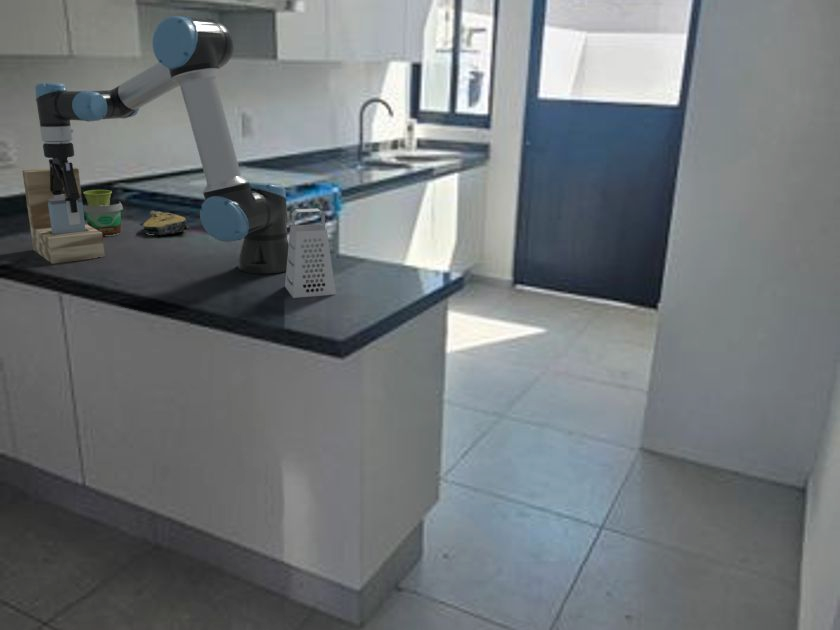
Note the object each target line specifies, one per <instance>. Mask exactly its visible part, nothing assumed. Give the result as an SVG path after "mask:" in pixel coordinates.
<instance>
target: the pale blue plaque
mask: <svg viewBox="0 0 840 630" xmlns="http://www.w3.org/2000/svg"><path fill="white" fill-rule="evenodd" d="M66 198H67V197H66ZM47 200H48V207H49V215H50V222H51V230H52V235H59V234H68V233H77V232H86V229H85V224H86V222H85V221H86V219H85V212H83V207H84V206H83V205H84V204H83V198H79V199H78V200H77V201H78V208H79V216H80V224H74V225H69V218H68V211H67V203H66V201H65V198H54V199H47Z"/></svg>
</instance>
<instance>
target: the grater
mask: <svg viewBox="0 0 840 630" xmlns="http://www.w3.org/2000/svg"><path fill="white" fill-rule="evenodd" d="M311 212H320V213H321V223H317V224H316V223H314V224H297V225H296V224H295V222H296V220H295V219H296V216H297V215H298V213H311ZM289 228H290V229H289V235H288V236H289V237H288V242H289V246H288V257H287V268H286V271H285V279H284V280H285V283H284V287H285V288H286V290H287V291H288V293H289V294H290V296H291V297H292V298H293V299H296V298H310V297H321V296H333V295H334V296H335V295H336V294H337V293H336V292H337V291H336V285H335V277H334V270H333V265H332V257H331V250H330V243H329V235H328V229H326V215H325V214H324V213H323V211H322V210H320V209H319V208H317V207H316V208H300V209H296V208H295V209H293V211H292V212H291V225H290V226H289ZM323 284H324V285H323ZM308 285H310V287H309V286H308ZM313 285H315V286H313ZM318 285H319V286H318ZM304 286H305V287H304ZM312 289H313V291H311V290H312ZM317 289H318V291H317ZM321 289H323V290H321ZM307 290H309V291H307Z"/></svg>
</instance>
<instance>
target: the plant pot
mask: <svg viewBox="0 0 840 630" xmlns="http://www.w3.org/2000/svg"><path fill="white" fill-rule="evenodd" d="M112 193H113V192H112V190H110V189H109V190H108V189H92V190H91V189H90V190H86V191H83V195H84V197H85V198H86V203H87V206H98V205H111V198H112V197H111V195H112Z"/></svg>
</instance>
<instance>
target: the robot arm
mask: <svg viewBox="0 0 840 630" xmlns="http://www.w3.org/2000/svg"><path fill="white" fill-rule="evenodd" d="M234 46H235V45H234V39H233V37H232V34H231V32H230V31H229V29H228V28H227V27H226V26H225V25H224V24H223V23H221V22H219V21H217V20H215V19H209V18H199V17H193V16H187V15H178V16H175V15H174V16H172V15H171V16H168V17H166V18H164V19H163V20H161V21H160V22H159V23H158V24H157V26H156V29H155V31H153V36H152V50H153V55H154V56H155V58H156V60H157V61H158V62H157V63H155V64H153V65H152V66H150V67H148V68H147V69H144V70H143V71H141V72H139V73H138V74H136V75H135V76H132V77H131V78H129V79H127V80H126V81H124V82H122V83H121V84H120V85H117V86H116V87H114V88H112V89H109V90H107V89H106V90H74V91H73V90H72V91H71V90H70V91H68V90H67V88H66V85H65V83H62V82H61V83H59V82H56V83H55V82H48V83H47V82H41V83H40V82H38V83H36V85H35V86H34V87H35V88H34V89H35V101H36V106H37V112H38V113H37V114H38V120H39V121H38V122H39V129H40V136H41V141H42V142H44V143H43V144H42V148H43V155H44V157H45V158H48V163H49V169H50V190H51V192H52V193H53V196H54V198H65V197H64V194H66V197H67V198H65V201H66V203H67V211H68V218H69V225H74V224H80V216H79V208H78V201H77V200H78V199H79V198H80V196H79V192H78V188H77V184H76V180H75V176H74V172H73V167H74V164H73V163H72V162H69V160H68V158H73V157H74V156H75V150H74V143H72V142H71V141H72V140H73V136H72V134H73V133H74V129H73V128H72V127H71V121H81V122H82V121H83V122H98V121H101V120H111V119H112V120H113V119H115V120H116V119H128V118H131V117H134V116H136V115H137V114H138V112H139V110H140V108H142V107H144V106H146V105H147V104H149V103H151V102H153V101H154V100H156V99H158V98H160V97H161V96H163V95H166V94H167V93H169V92H170V91H172V90H174V89H176V88H178V87H180V91H181V94H182V98H183V101H184V105H185V109H186V113H187V115H188V120H189V123H190V126H191V130H192V134H193V137H194V140H195V144H196V148H197V151H198V155H199V156H198V157H199V159H200V163H201V166H202V169H203V171H202V172H203V174H204V177H205V181H206V184H205V187H204V189H203V190H202V193H203V198H204V201H203V202H202V204H201V208H200V210H199V219H200V222H201V225H202V227H203V228H204V230H205V231H206V232H207V234H208V235H209V236H211V237H212V238H214V239H215V240H217V241H219V242H223V243H227V242H228V243H230V242H237V241H241V240H243V242H242V245H241V249H240V252H239V255H238V261H237V262H238V264H237V265H238V270H240V271H242V272H244V273H250V274H258V275H259V274H263V275H264V274H266V275H267V274H279V273H284V272H285V273H286V268H287V257H288V246H289V238H288V224H287V223H288V221H287V219H288V217H287V201H288V199H287V195H286V194H287V193H286V188H285V187H284V185H282V184H279V183H268V182H267V183H266V182H254V181H253V182H251V181H249V180H247V179H246V178H244V177H243V176H242V174H241V170H240V166H239V162H238V158H237V155H236V152H235V147H234V144H233V140H232V136H231V133H230V129H229V125H228V122H227V117H226V114H225V109H224V106H223V102H222V97H221V94H220V91H219V86H218V83H217V77H218V75H219V74H220V71H221V70H220V69H221V68H223V67H224V66H225V65H226V64H228V63H229V61H231V58H232V57H233V54H234V49H235V47H234ZM63 187H64V190H63ZM61 194H62V195H61Z"/></svg>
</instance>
